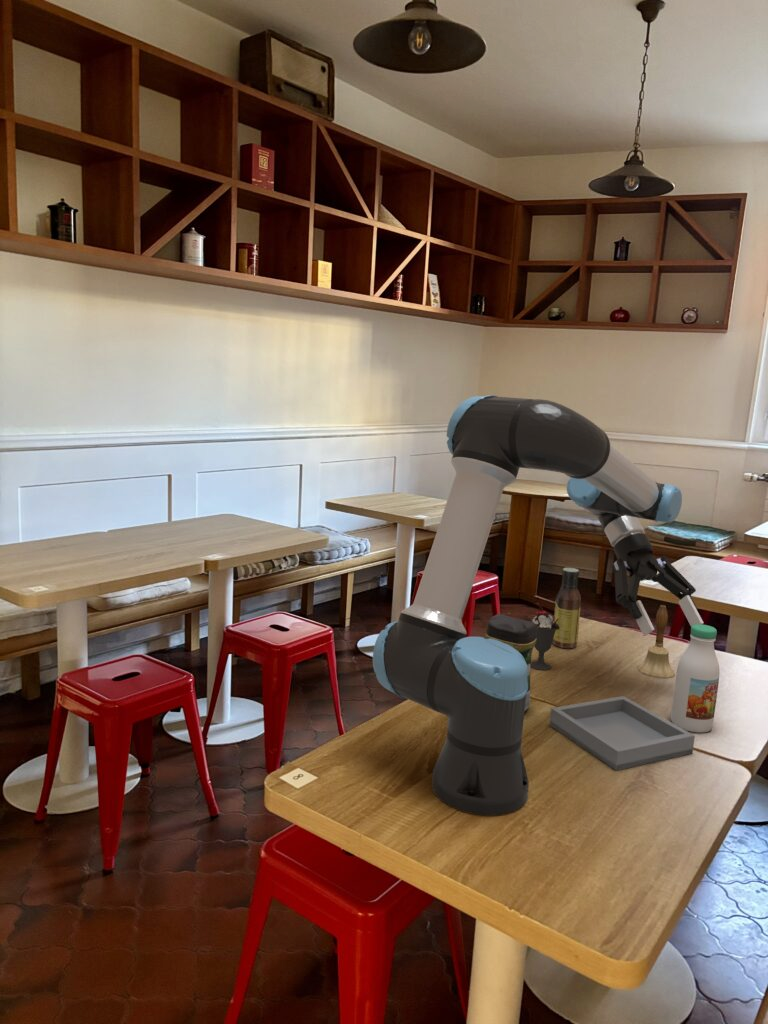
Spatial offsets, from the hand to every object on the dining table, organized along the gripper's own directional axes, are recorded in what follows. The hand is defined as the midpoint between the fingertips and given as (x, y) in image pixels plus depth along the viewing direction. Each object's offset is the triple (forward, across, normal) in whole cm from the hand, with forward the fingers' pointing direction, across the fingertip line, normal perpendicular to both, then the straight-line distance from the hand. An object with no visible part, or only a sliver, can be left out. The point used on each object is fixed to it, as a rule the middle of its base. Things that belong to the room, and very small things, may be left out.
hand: (674, 629), depth 152 cm
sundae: (-7, +11, -31) cm, 34 cm away
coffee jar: (+4, +32, -20) cm, 38 cm away
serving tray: (+17, +19, -6) cm, 27 cm away
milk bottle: (+18, +1, -7) cm, 19 cm away
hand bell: (+1, -14, -24) cm, 28 cm away
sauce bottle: (-14, -4, -38) cm, 41 cm away
